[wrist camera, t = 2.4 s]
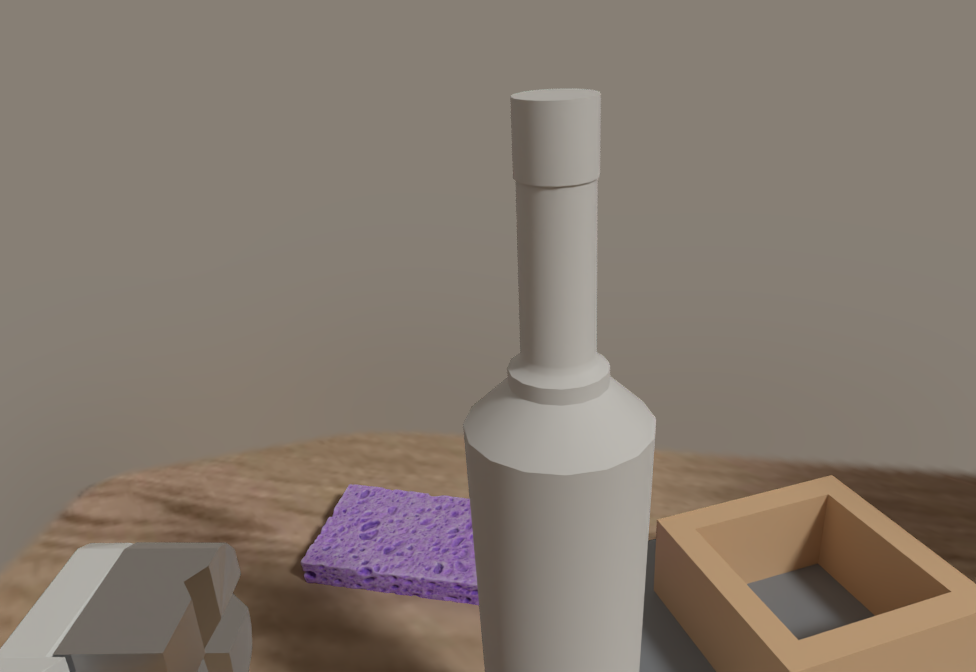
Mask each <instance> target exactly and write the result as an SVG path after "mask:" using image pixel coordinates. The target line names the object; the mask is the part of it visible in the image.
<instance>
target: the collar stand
mask: <svg viewBox="0 0 976 672" xmlns="http://www.w3.org/2000/svg"><path fill="white" fill-rule="evenodd" d="M639 672H976V584H975V583H974V582H973V581H971V580H970V579H969V578H967V577H966V576H965V575H963V574H962V573H961V572H959V571H958V570H957V569H955V568H954V567H953V566H951V565H950V564H949V563H947V562H946V561H945V560H944V559H942V558H941V557H940V556H938V555H937V554H936V553H934V552H933V551H932V550H930V549H929V548H928V547H926V546H925V545H924V544H922V543H921V542H920V541H918V540H917V539H916V538H914V537H913V536H912V535H910V534H909V533H908V532H907V531H905V530H904V529H903V528H901V527H900V526H899V525H897V524H896V523H895V522H893V521H892V520H891V519H889V518H888V517H887V516H885V515H884V514H883V513H881V512H880V511H879V510H877V509H876V508H875V507H873V506H872V505H871V504H870V503H868V502H867V501H866V500H864V499H863V498H862V497H860V496H859V495H858V494H856V493H855V492H854V491H852V490H851V489H850V488H848V487H847V486H846V485H844V484H843V483H842V482H840V481H839V480H838V479H836V478H835V477H834V476H833V475H830V476H826V477H822V478H818V479H814V480H811V481H807V482H803V483H799V484H795V485H791V486H787V487H783V488H779V489H775V490H771V491H767V492H763V493H760V494H756V495H752V496H748V497H744V498H740V499H736V500H732V501H728V502H724V503H720V504H716V505H712V506H708V507H705V508H701V509H697V510H693V511H689V512H685V513H681V514H677V515H673V516H669V517H665V518H661V519H657V530H656V539H653V540H649V541H648V549H647V563H646V578H645V593H644V608H643V623H642V638H641V653H640V667H639Z"/></svg>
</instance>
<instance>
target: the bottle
mask: <svg viewBox="0 0 976 672" xmlns="http://www.w3.org/2000/svg"><path fill="white" fill-rule="evenodd" d="M600 124H601V92H599V91H596V90H589V89H543V90H532V91H525V92H520V93H516V94H513V95H512V96H511V128H512V158H513V179H514V180H515V181H516V212H517V245H518V246H517V250H518V284H519V285H518V286H519V319H520V354H518V355H516V356H515V357H513V358H512V359H511V360H510V363H509V365H508V367H507V374H508V377H507V378H506V379H505V380H503V381H502V382H501V383H500V384H499V385H497V386H496V387H495V388H494V389H493V390H491V391H490V392H489V393H488V394H486V395H485V396H484V397H483V398H481V399H480V400H479V401H478V402H477V403H475V404H474V405H473V406H472V407H471V409H470V412H469V413H468V415H467V417H466V419H465V422H464V424H463V429H464V440H465V452H466V463H467V474H468V485H469V497H470V508H471V519H472V530H473V542H474V553H475V564H476V576H477V587H478V598H479V609H480V621H481V632H482V643H483V654H484V666H485V672H639V667H640V653H641V638H642V623H643V608H644V593H645V578H646V563H647V549H648V534H649V519H650V504H651V489H652V474H653V459H654V444H655V428H656V418H655V417H654V415H653V414H652V413H651V412H650V410H649V409H648V407H647V406H646V405H645V404H644V402H643V401H642V400H641V399H639V398H638V397H637V396H635V395H634V394H633V393H631V392H630V391H629V390H628V389H626V388H625V387H624V386H622V385H621V384H620V383H619V382H617V381H616V380H615V379H613V378H612V377H611V376H610V364H609V362H608V361H607V360H606V358H605V357H604V356H603V355H601V354H599V353H597V349H596V348H597V192H598V191H597V189H598V185H597V184H598V178H599V176H600V128H601V125H600Z"/></svg>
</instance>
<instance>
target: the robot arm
mask: <svg viewBox="0 0 976 672" xmlns="http://www.w3.org/2000/svg"><path fill="white" fill-rule="evenodd" d="M240 575H241V572H240V568H239V564H238V560H237V557H236V553H235V549H234V548H233V547H231V546H230V545H229V544H227V543H139V542H137V543H135V544H132V543H90V544H88V545H85V546H83V547H81V548H79V549H77V550H76V551H75V553H74V554H73V555H72V556H71V558H70V559H69V560H68V562H67V563H66V564H65V566H64V567H63V568H62V569H61V571H60V572H59V573H58V575H57V576H56V577H55V578H54V580H53V581H52V582H51V584H50V585H49V586H48V588H47V589H46V590H45V591H44V593H43V594H42V595H41V597H40V598H39V599H38V601H37V602H36V603H35V604H34V606H33V607H32V608H31V610H30V611H29V612H28V613H27V615H26V616H25V617H24V619H23V620H22V621H21V623H20V624H19V625H18V626H17V628H16V629H15V630H14V632H13V633H12V634H11V635H10V637H9V638H8V639H7V641H6V642H5V643H4V645H3V646H2V647H1V648H0V672H249V666H250V660H251V653H252V626H251V621H250V615H249V610H248V607H247V606H246V605H245V604H244V603H242V602H241V601H240V600H239V599H238V598H237V597H236V596H235V595H234V594H233V591H234V589H235V587H236V584H237V582H238V580H239V578H240Z"/></svg>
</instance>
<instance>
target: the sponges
mask: <svg viewBox="0 0 976 672" xmlns="http://www.w3.org/2000/svg"><path fill="white" fill-rule="evenodd" d="M301 565H302V568H303V571H305V574H304V578H305V580H306V582H307V583H318V584H324V585H332V586H339V587H341V586H343V587H346V588H353V589H366V590H373V591H378V592H384V593H395V594H399V595H409V596H412V595H417V596H418V597H421V598H428V599H436V600H444V601H454V602H459V603H469V604H475V605H479V598H478V587H477V576H476V564H475V553H474V542H473V530H472V519H471V508H470V499H465V498H459V497H451V496H443V495H442V496H435V497H433V496H429V494H424V493H418V492H413V491H410V492H407V491H402V490H393V491H392V490H389V489H384V488H381V487H372V486H370V487H369V486H362V485H351V484H350V485H349V486H348V488H347V489H346V491H345V492H344V494H343V496H342V497H341V498H340V500H339V502H338V503H337V505H336V506H335V508H334V513H333V516H332V517H329V518H328V519H327V522H326V523H325V525H324V526H323V527H322V530H321V534H320V535H318V537H317V539H316V540H315V541H314V544H311V546H310V547H309V549H308V550H307V553H306V555H305V557H304V558H303V559H302V560H301Z"/></svg>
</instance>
